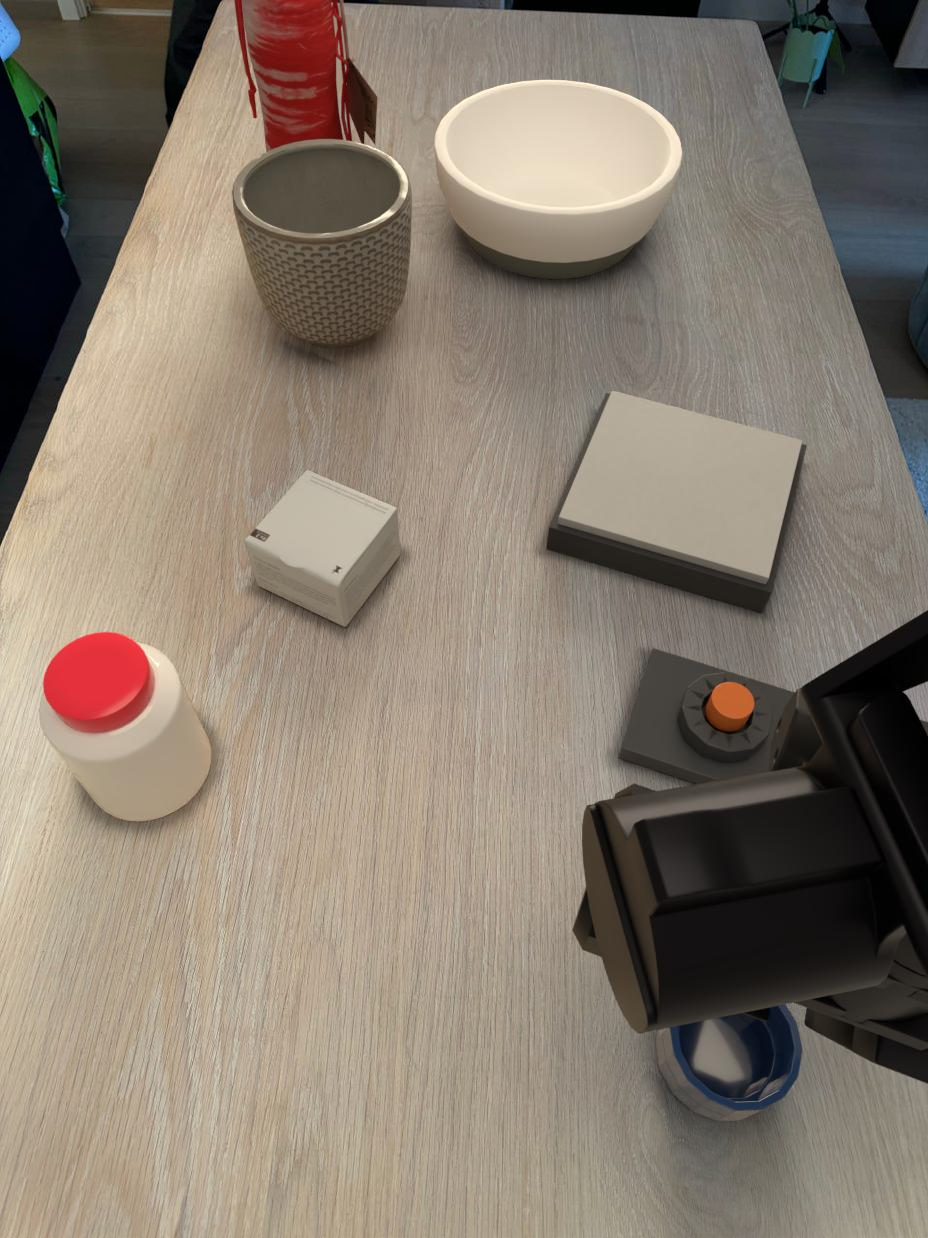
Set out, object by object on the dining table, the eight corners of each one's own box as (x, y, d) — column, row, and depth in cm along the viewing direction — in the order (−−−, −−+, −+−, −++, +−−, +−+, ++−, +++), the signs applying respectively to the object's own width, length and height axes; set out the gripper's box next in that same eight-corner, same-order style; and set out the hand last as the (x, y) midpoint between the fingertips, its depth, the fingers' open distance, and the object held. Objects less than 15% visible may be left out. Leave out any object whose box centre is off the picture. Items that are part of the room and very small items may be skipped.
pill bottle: (85, 832, 57) (16, 751, 48) (87, 721, 61) (24, 626, 52) (215, 808, 58) (171, 724, 49) (208, 700, 62) (166, 604, 53)
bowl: (605, 328, 84) (619, 244, 77) (390, 249, 90) (385, 164, 83) (700, 202, 95) (720, 118, 88) (503, 139, 101) (507, 56, 94)
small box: (403, 553, 69) (400, 507, 65) (345, 631, 65) (338, 587, 61) (315, 513, 71) (306, 465, 67) (253, 586, 67) (240, 541, 63)
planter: (393, 388, 79) (384, 251, 68) (235, 362, 81) (203, 224, 70) (432, 287, 87) (430, 149, 76) (287, 265, 88) (265, 127, 78)
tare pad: (811, 709, 62) (826, 686, 60) (790, 816, 58) (805, 796, 56) (649, 658, 64) (657, 634, 62) (617, 758, 60) (625, 736, 58)
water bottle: (394, 193, 95) (379, -105, 74) (382, 240, 91) (363, -62, 70) (276, 184, 96) (229, -113, 75) (259, 231, 91) (203, -72, 70)
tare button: (750, 703, 60) (758, 689, 58) (742, 737, 58) (750, 724, 57) (710, 690, 60) (716, 676, 59) (701, 724, 59) (707, 710, 57)
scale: (797, 467, 75) (810, 437, 72) (761, 613, 67) (775, 585, 64) (601, 415, 78) (607, 384, 75) (545, 548, 70) (549, 519, 67)
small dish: (785, 1017, 52) (811, 998, 48) (763, 1142, 48) (789, 1132, 44) (670, 974, 53) (687, 952, 49) (641, 1093, 49) (657, 1079, 46)
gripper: (1256, 753, 30) (1014, 905, 43) (684, 582, 34) (618, 770, 47) (1295, 1120, 24) (1001, 1169, 37) (597, 866, 28) (549, 992, 41)
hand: (778, 1002), depth 41 cm, fingers closed
